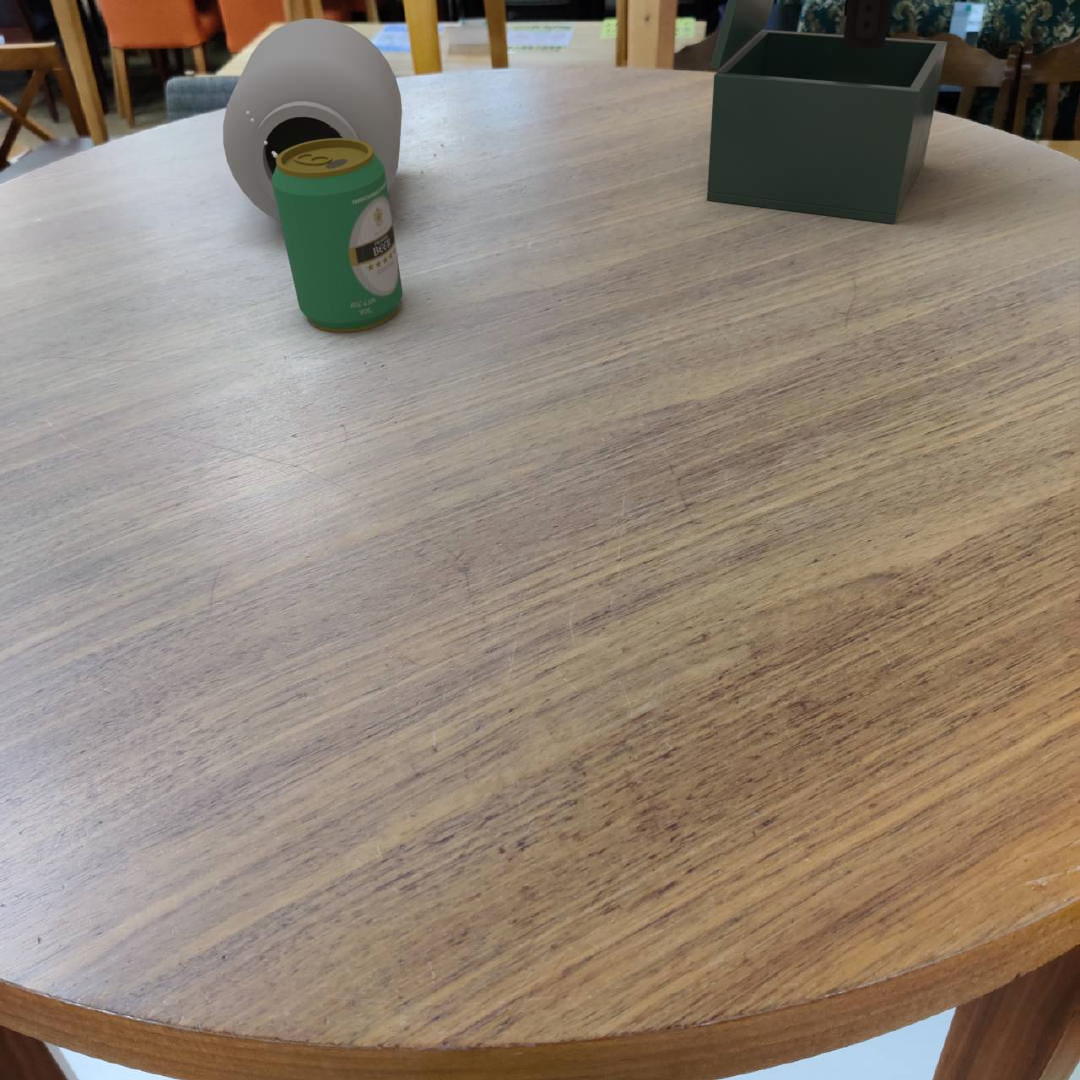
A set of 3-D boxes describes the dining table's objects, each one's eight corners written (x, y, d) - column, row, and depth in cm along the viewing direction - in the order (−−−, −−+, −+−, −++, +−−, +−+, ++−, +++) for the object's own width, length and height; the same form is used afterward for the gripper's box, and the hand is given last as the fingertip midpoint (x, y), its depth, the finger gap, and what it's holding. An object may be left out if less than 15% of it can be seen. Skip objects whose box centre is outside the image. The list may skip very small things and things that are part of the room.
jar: (472, 118, 98) (426, 178, 77) (387, 236, 105) (323, 320, 83) (308, -23, 93) (210, -1, 71) (229, 111, 99) (119, 167, 78)
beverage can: (363, 343, 75) (334, 183, 67) (280, 322, 78) (243, 166, 70) (424, 297, 80) (403, 143, 72) (344, 279, 83) (316, 130, 76)
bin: (923, 164, 96) (947, 41, 89) (894, 224, 86) (918, 91, 79) (752, 146, 102) (762, 29, 95) (706, 200, 92) (713, 74, 85)
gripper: (961, -217, 67) (914, 60, 78) (944, -236, 79) (906, 5, 90) (843, -212, 68) (813, 60, 79) (845, -231, 81) (819, 5, 92)
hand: (862, 30), depth 85 cm, fingers open, 9 cm apart
